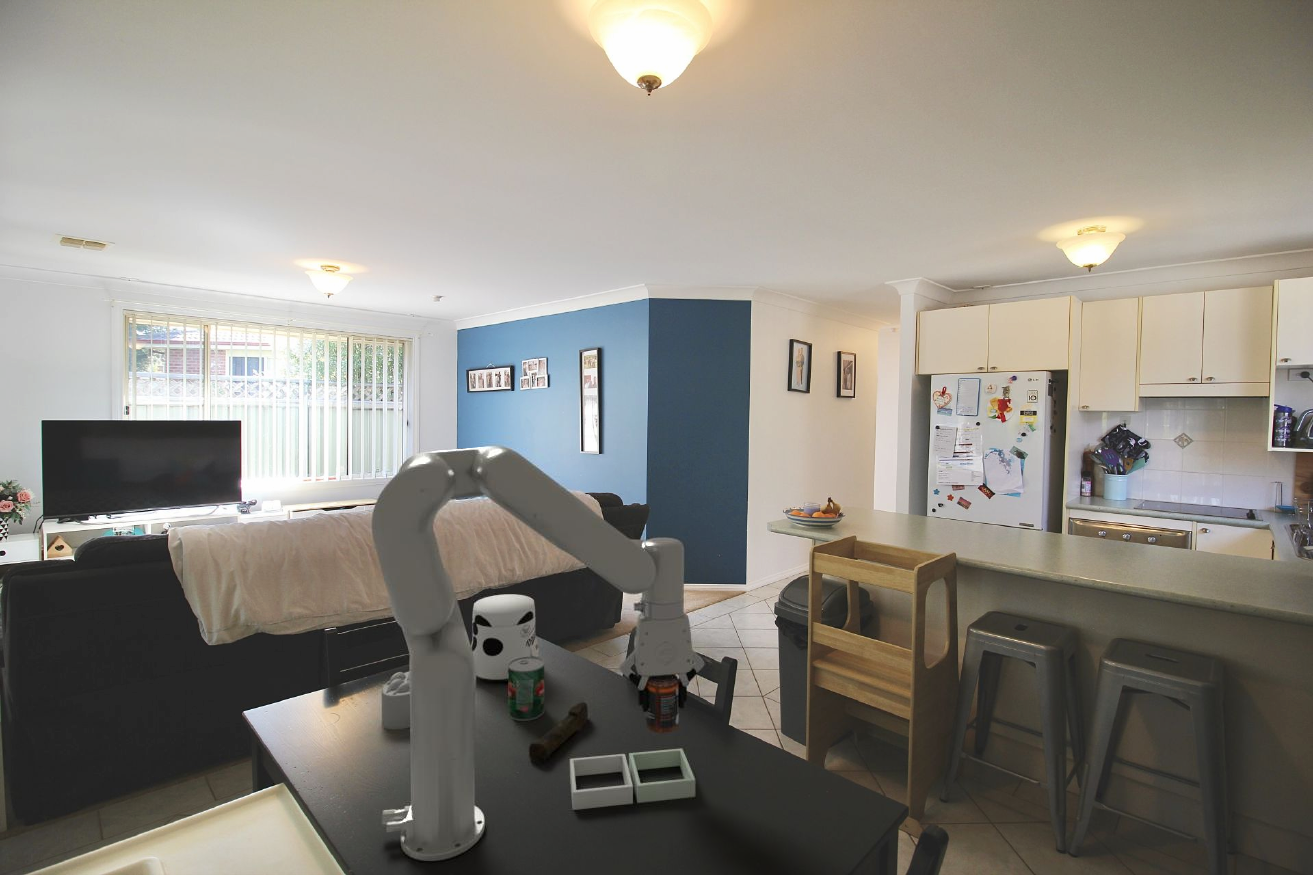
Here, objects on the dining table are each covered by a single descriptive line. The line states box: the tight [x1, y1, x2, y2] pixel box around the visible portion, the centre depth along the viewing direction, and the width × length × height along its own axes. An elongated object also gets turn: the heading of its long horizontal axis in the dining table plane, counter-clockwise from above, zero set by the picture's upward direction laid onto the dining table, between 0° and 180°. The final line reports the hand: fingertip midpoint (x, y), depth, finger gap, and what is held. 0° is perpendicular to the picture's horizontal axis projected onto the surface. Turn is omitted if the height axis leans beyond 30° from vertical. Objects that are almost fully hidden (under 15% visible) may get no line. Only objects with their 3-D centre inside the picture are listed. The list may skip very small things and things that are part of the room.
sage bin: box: [628, 747, 696, 804], centre depth 112 cm, size 10×10×3 cm
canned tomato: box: [507, 657, 545, 722], centre depth 137 cm, size 8×8×11 cm
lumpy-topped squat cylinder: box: [381, 670, 410, 730], centre depth 136 cm, size 10×13×9 cm
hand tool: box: [528, 701, 589, 764], centre depth 126 cm, size 19×4×5 cm, turn 154°
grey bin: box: [569, 753, 634, 811], centre depth 110 cm, size 10×10×3 cm
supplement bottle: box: [645, 675, 680, 734], centre depth 111 cm, size 6×6×11 cm
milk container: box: [470, 593, 540, 683], centre depth 157 cm, size 17×17×18 cm
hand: (662, 705), depth 111 cm, fingers closed on supplement bottle, 6 cm apart
